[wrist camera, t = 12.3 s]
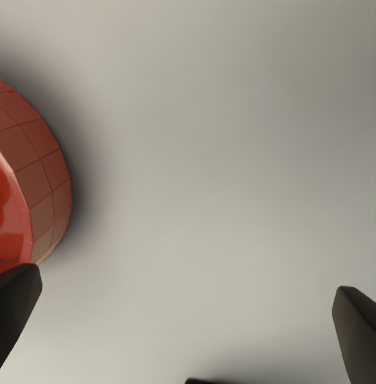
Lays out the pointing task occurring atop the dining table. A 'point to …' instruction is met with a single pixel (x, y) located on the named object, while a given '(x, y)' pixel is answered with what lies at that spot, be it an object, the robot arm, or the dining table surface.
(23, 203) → the bowl
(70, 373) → the dining table surface
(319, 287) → the dining table surface
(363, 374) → the robot arm
